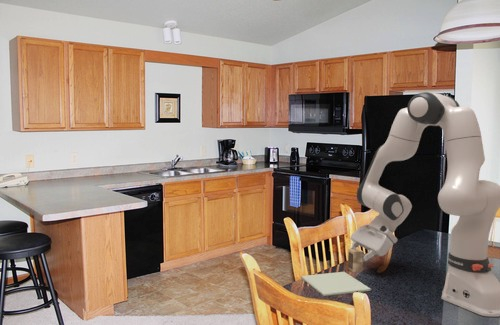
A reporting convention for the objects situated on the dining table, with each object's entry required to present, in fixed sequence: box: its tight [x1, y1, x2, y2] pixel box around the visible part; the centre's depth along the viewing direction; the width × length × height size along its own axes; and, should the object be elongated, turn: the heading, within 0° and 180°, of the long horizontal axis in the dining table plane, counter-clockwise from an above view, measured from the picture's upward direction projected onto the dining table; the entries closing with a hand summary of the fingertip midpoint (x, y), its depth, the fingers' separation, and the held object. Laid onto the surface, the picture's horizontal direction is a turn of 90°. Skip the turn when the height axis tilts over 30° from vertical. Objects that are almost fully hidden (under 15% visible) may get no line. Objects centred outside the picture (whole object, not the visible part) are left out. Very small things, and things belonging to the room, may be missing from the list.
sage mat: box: [300, 271, 372, 297], centre depth 155 cm, size 18×18×1 cm
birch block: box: [347, 247, 364, 273], centre depth 170 cm, size 4×4×8 cm
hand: (357, 255), depth 171 cm, fingers open, 8 cm apart
